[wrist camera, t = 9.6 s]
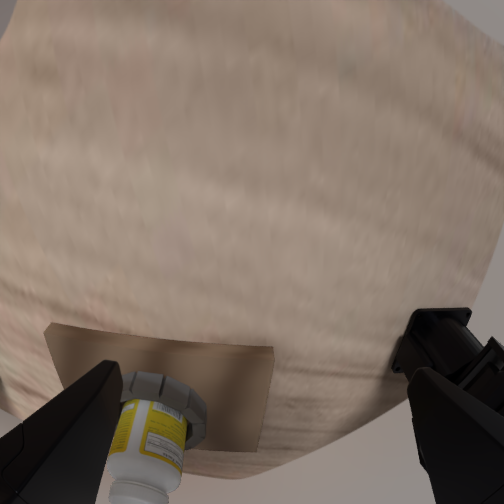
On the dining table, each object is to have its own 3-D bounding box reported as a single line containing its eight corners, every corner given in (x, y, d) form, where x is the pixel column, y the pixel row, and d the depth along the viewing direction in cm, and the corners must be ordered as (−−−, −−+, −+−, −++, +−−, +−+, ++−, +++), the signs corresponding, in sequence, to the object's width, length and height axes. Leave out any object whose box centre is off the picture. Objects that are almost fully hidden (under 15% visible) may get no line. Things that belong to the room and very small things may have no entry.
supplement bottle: (135, 422, 24) (112, 512, 15) (119, 382, 22) (84, 484, 13) (193, 427, 24) (183, 524, 15) (184, 387, 22) (167, 499, 13)
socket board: (272, 346, 23) (277, 380, 19) (255, 440, 28) (257, 468, 24) (51, 322, 22) (32, 348, 18) (86, 418, 27) (76, 443, 23)
